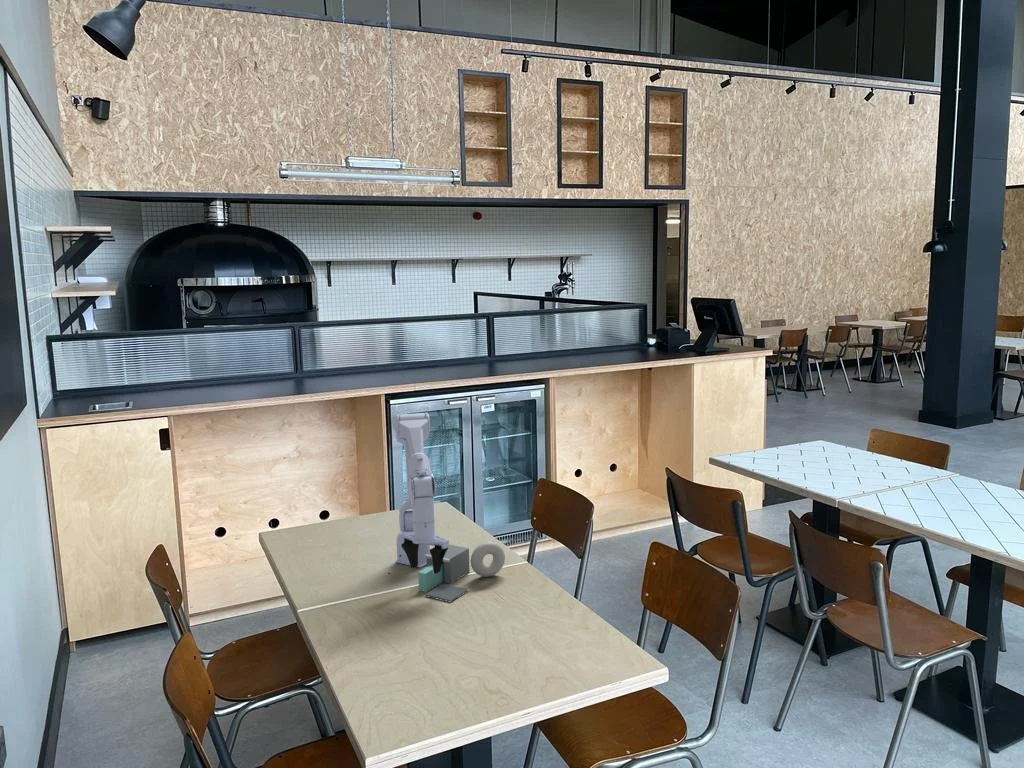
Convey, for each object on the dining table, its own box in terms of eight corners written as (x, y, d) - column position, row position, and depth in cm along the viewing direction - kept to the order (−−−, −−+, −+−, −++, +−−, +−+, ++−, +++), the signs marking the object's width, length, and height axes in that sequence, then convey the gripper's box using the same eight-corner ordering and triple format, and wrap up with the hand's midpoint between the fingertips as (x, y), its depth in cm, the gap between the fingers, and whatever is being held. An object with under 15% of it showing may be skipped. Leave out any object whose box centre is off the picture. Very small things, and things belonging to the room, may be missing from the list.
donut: (473, 581, 209) (472, 546, 208) (469, 577, 212) (468, 542, 211) (507, 575, 213) (506, 541, 212) (502, 571, 216) (502, 537, 215)
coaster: (425, 596, 200) (425, 594, 200) (443, 585, 207) (443, 583, 207) (451, 602, 196) (450, 600, 196) (468, 591, 203) (468, 589, 203)
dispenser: (425, 579, 212) (424, 555, 211) (446, 567, 220) (445, 543, 219) (449, 584, 208) (448, 560, 207) (469, 572, 216) (468, 548, 215)
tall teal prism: (419, 590, 205) (418, 572, 204) (442, 576, 214) (442, 558, 213) (426, 592, 203) (425, 573, 203) (450, 577, 213) (449, 560, 212)
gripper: (392, 521, 203) (394, 570, 205) (437, 529, 196) (438, 579, 197) (409, 513, 209) (411, 561, 211) (452, 521, 202) (454, 570, 203)
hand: (425, 569), depth 204 cm, fingers open, 7 cm apart
